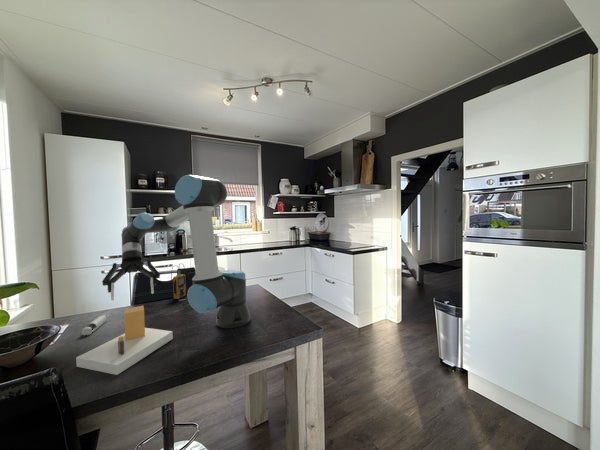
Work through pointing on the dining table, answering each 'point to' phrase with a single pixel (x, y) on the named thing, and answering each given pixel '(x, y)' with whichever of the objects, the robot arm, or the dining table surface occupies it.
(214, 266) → the robot arm
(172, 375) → the dining table surface
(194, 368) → the dining table surface
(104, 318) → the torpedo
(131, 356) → the white base board
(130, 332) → the orange upright block
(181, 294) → the multimeter
